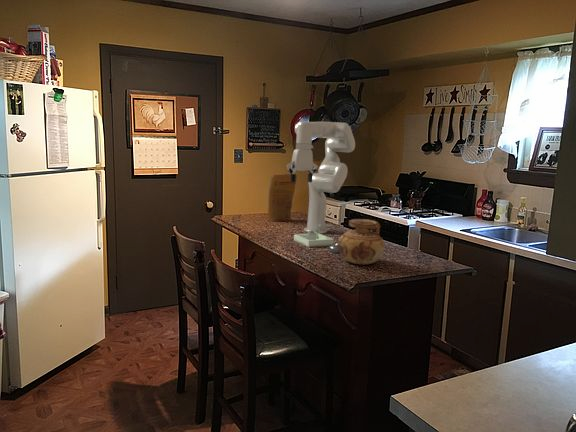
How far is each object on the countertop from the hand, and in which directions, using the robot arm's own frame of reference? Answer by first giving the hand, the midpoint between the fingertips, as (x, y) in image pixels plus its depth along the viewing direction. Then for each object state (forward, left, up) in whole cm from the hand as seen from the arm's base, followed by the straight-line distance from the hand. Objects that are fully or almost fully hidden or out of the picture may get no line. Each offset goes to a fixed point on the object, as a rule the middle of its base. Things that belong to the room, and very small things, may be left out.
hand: (301, 182), depth 239 cm
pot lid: (-4, +30, -28) cm, 41 cm away
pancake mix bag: (-13, -44, -28) cm, 54 cm away
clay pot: (-3, +48, -28) cm, 56 cm away
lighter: (-2, +12, -28) cm, 30 cm away
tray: (-2, +12, -28) cm, 31 cm away
